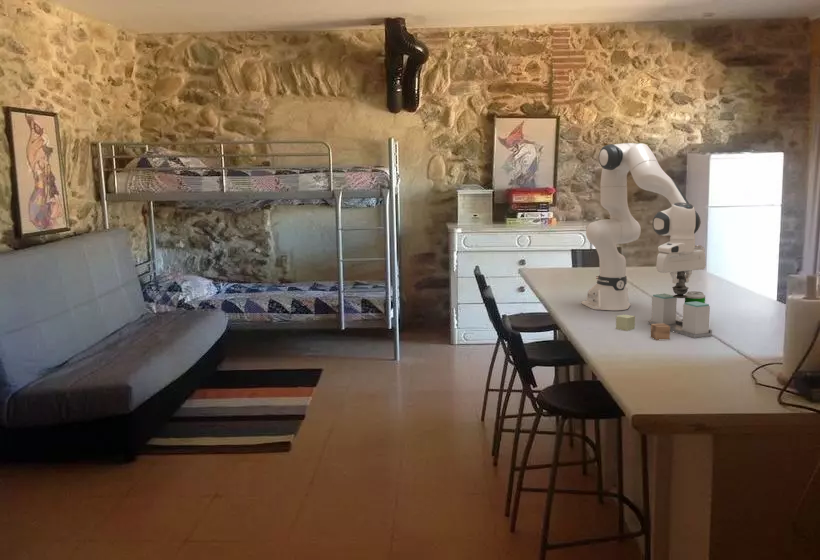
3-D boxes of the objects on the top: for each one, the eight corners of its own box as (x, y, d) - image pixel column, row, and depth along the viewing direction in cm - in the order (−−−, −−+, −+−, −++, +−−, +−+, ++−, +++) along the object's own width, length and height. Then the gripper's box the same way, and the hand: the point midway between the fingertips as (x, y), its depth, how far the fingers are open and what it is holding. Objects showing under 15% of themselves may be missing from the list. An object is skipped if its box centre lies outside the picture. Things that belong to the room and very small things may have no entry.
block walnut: (650, 337, 278) (651, 323, 277) (663, 336, 278) (664, 323, 277) (656, 340, 273) (656, 326, 272) (669, 339, 273) (670, 326, 272)
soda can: (691, 325, 295) (692, 294, 294) (680, 321, 303) (681, 291, 301) (708, 323, 297) (709, 293, 296) (696, 319, 305) (697, 290, 303)
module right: (682, 330, 282) (683, 302, 280) (695, 328, 284) (696, 301, 282) (695, 334, 275) (696, 305, 273) (708, 332, 277) (709, 304, 275)
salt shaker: (684, 295, 289) (686, 264, 287) (690, 298, 283) (692, 266, 281) (669, 295, 289) (670, 264, 287) (675, 298, 283) (676, 266, 281)
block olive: (616, 328, 292) (616, 316, 291) (623, 326, 295) (623, 314, 294) (627, 331, 288) (627, 318, 287) (634, 328, 291) (635, 316, 290)
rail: (648, 323, 299) (648, 318, 298) (665, 322, 301) (665, 316, 301) (694, 338, 274) (694, 332, 274) (711, 335, 277) (711, 330, 277)
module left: (651, 321, 298) (652, 294, 297) (663, 319, 300) (664, 293, 299) (663, 324, 292) (663, 297, 290) (675, 323, 294) (676, 296, 292)
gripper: (698, 244, 289) (697, 279, 291) (654, 247, 282) (653, 283, 285) (710, 245, 283) (708, 282, 286) (665, 248, 276) (664, 286, 279)
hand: (680, 282), depth 285 cm, fingers closed on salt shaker, 3 cm apart
